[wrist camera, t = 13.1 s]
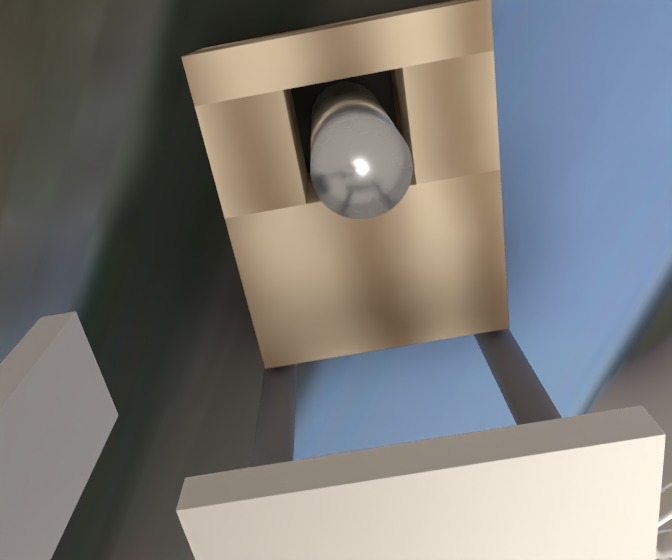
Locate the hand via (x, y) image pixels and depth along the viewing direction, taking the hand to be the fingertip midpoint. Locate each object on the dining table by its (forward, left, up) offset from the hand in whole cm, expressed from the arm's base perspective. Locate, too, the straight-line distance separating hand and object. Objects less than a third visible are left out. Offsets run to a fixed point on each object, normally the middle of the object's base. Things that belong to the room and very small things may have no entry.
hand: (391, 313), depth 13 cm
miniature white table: (0, -11, -24) cm, 26 cm away
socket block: (0, -3, -24) cm, 24 cm away
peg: (0, 0, -24) cm, 24 cm away
